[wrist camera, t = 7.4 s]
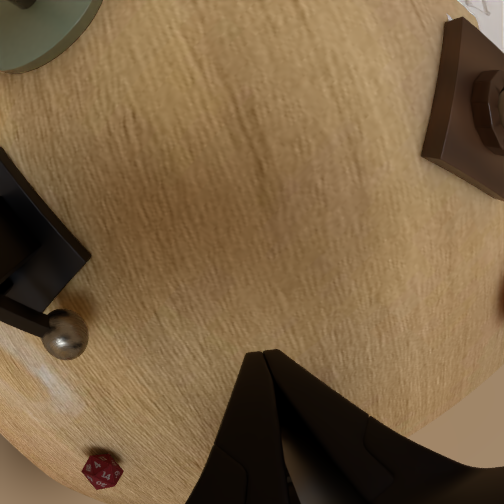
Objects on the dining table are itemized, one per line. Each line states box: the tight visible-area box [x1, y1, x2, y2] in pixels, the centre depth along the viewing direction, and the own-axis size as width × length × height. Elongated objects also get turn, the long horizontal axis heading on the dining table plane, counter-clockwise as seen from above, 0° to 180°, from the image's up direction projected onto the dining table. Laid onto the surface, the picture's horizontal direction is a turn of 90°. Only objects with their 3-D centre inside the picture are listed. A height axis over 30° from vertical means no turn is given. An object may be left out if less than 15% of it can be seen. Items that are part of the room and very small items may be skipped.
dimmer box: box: [421, 17, 504, 201], centre depth 17 cm, size 12×10×4 cm
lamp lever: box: [0, 293, 89, 360], centre depth 14 cm, size 11×3×3 cm, turn 39°
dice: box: [81, 453, 124, 490], centre depth 23 cm, size 4×4×4 cm
